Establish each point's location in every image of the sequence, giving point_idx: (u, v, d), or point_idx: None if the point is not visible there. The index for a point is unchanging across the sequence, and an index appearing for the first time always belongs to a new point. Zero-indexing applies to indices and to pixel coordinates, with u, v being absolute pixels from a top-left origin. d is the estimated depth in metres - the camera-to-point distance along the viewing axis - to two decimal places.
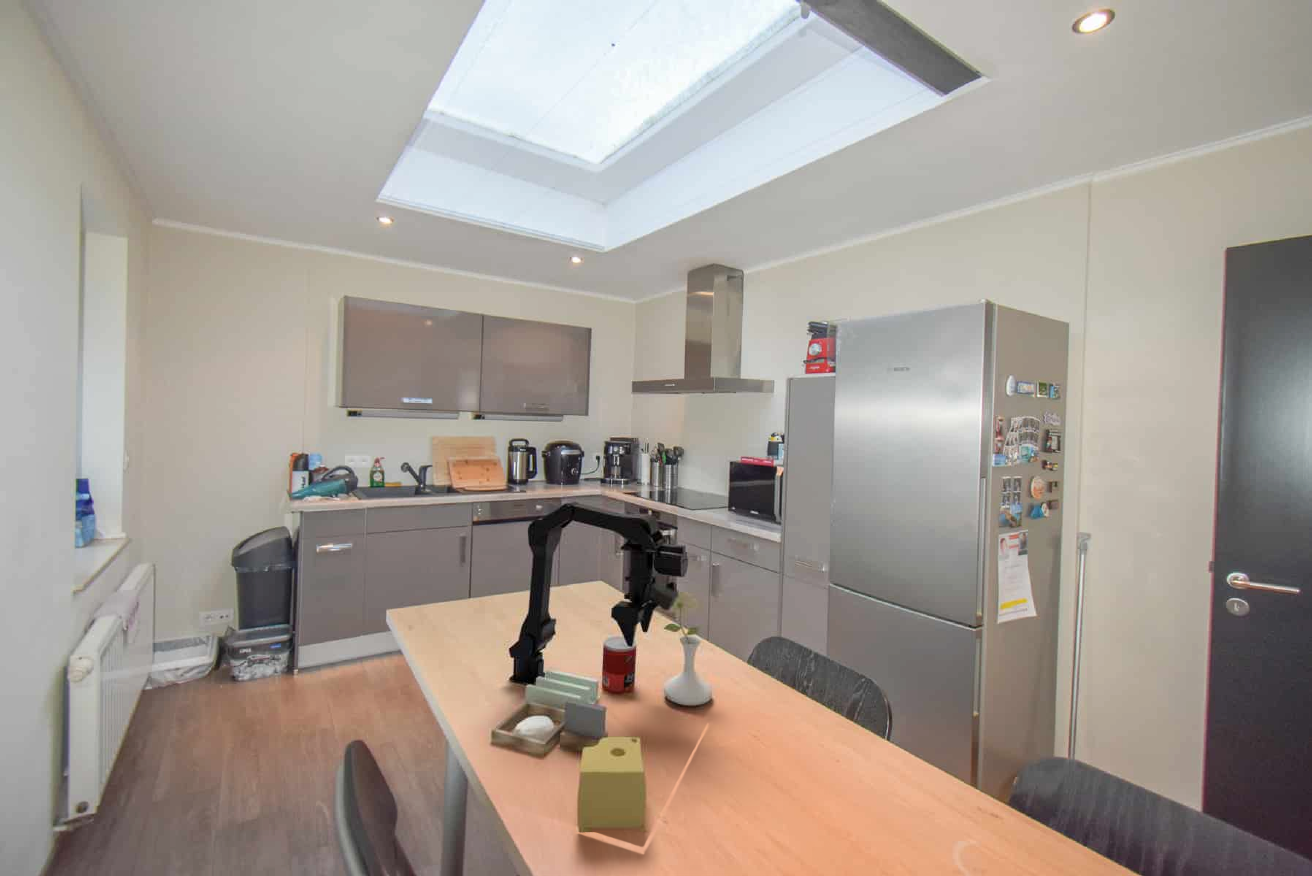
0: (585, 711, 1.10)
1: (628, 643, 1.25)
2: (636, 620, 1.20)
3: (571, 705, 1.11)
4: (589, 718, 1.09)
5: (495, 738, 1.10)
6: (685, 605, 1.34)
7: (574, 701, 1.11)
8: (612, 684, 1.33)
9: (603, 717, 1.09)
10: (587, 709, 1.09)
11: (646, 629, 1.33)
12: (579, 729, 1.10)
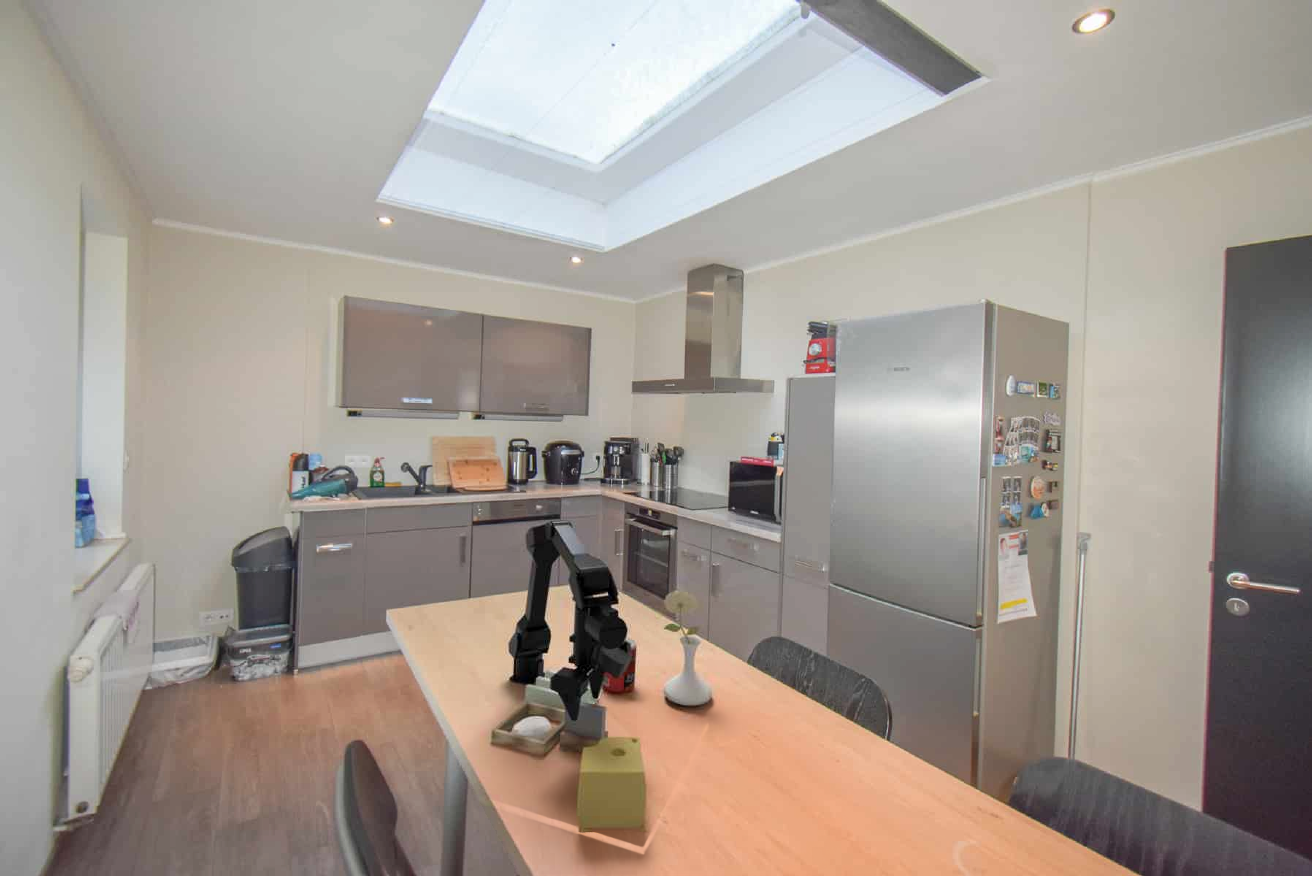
0: (585, 711, 1.10)
1: (571, 717, 1.06)
2: (578, 693, 1.01)
3: None
4: (589, 718, 1.09)
5: (495, 738, 1.10)
6: (685, 605, 1.34)
7: None
8: (612, 684, 1.33)
9: (603, 717, 1.09)
10: (587, 709, 1.09)
11: (597, 695, 1.15)
12: (579, 729, 1.10)
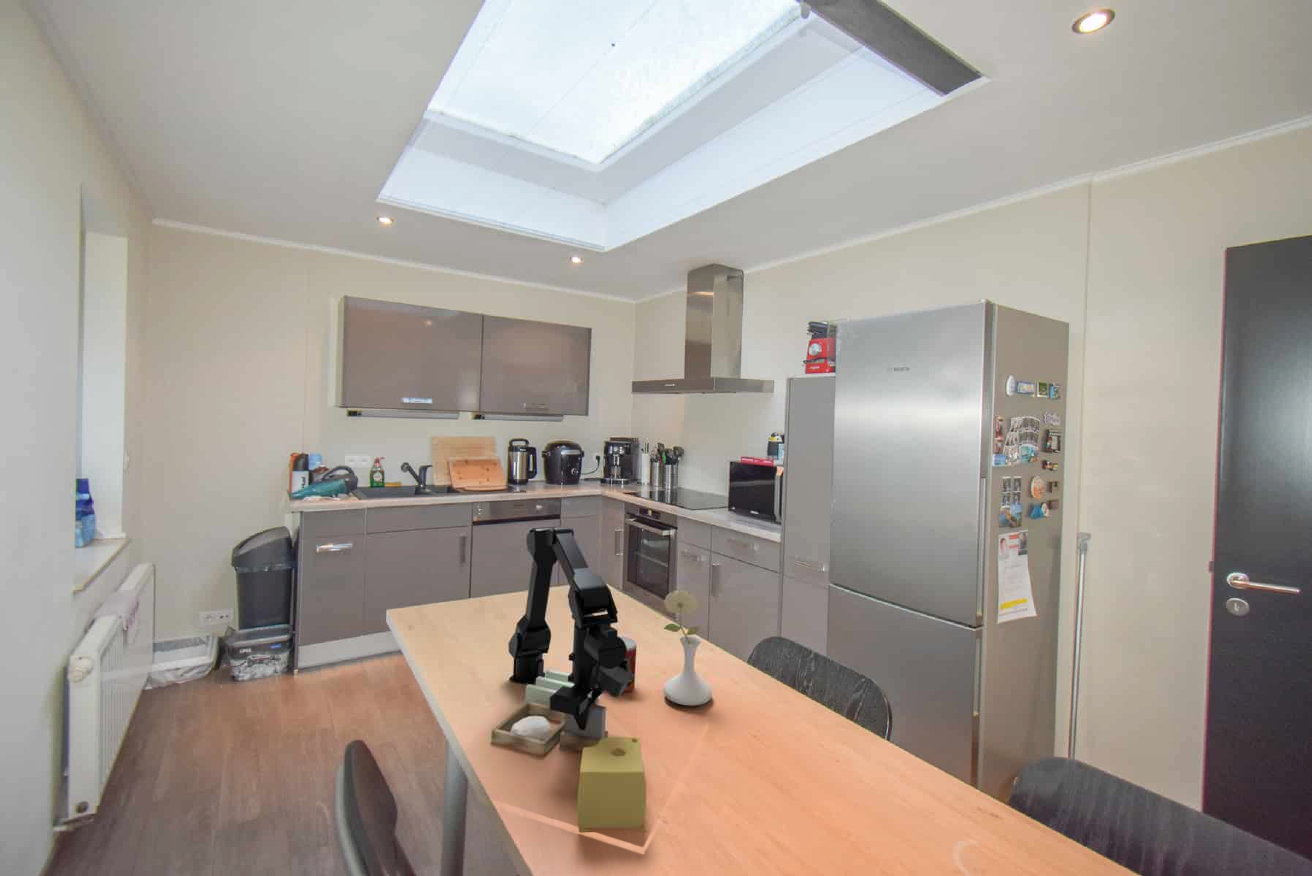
0: None
1: (580, 726, 1.09)
2: (577, 713, 1.01)
3: None
4: (589, 718, 1.09)
5: (495, 738, 1.10)
6: (685, 605, 1.34)
7: None
8: None
9: (603, 717, 1.09)
10: None
11: None
12: (579, 729, 1.10)
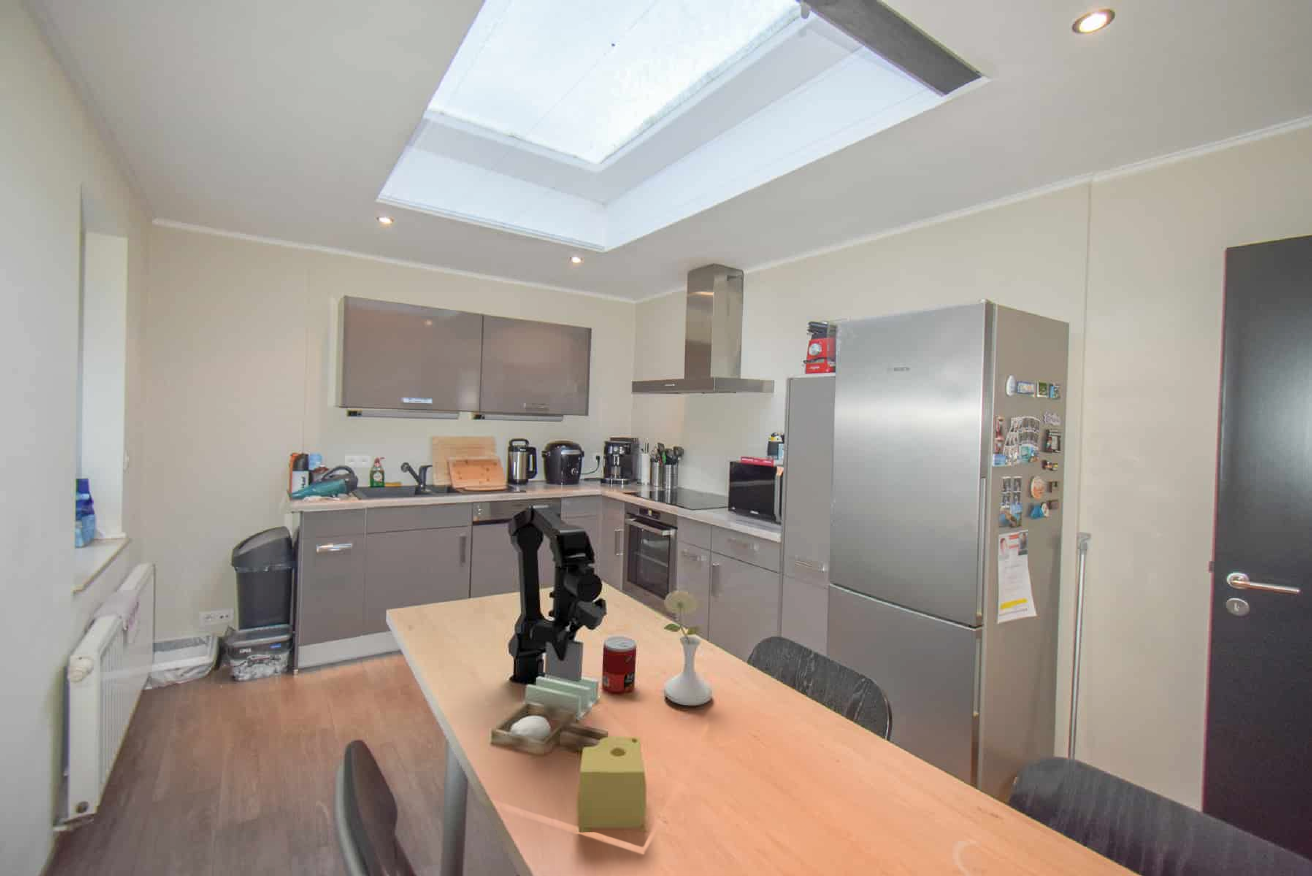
0: None
1: (559, 657, 1.21)
2: (555, 641, 1.12)
3: None
4: (568, 652, 1.21)
5: (495, 738, 1.10)
6: (685, 605, 1.34)
7: None
8: (612, 684, 1.33)
9: (580, 651, 1.20)
10: None
11: None
12: (559, 662, 1.22)
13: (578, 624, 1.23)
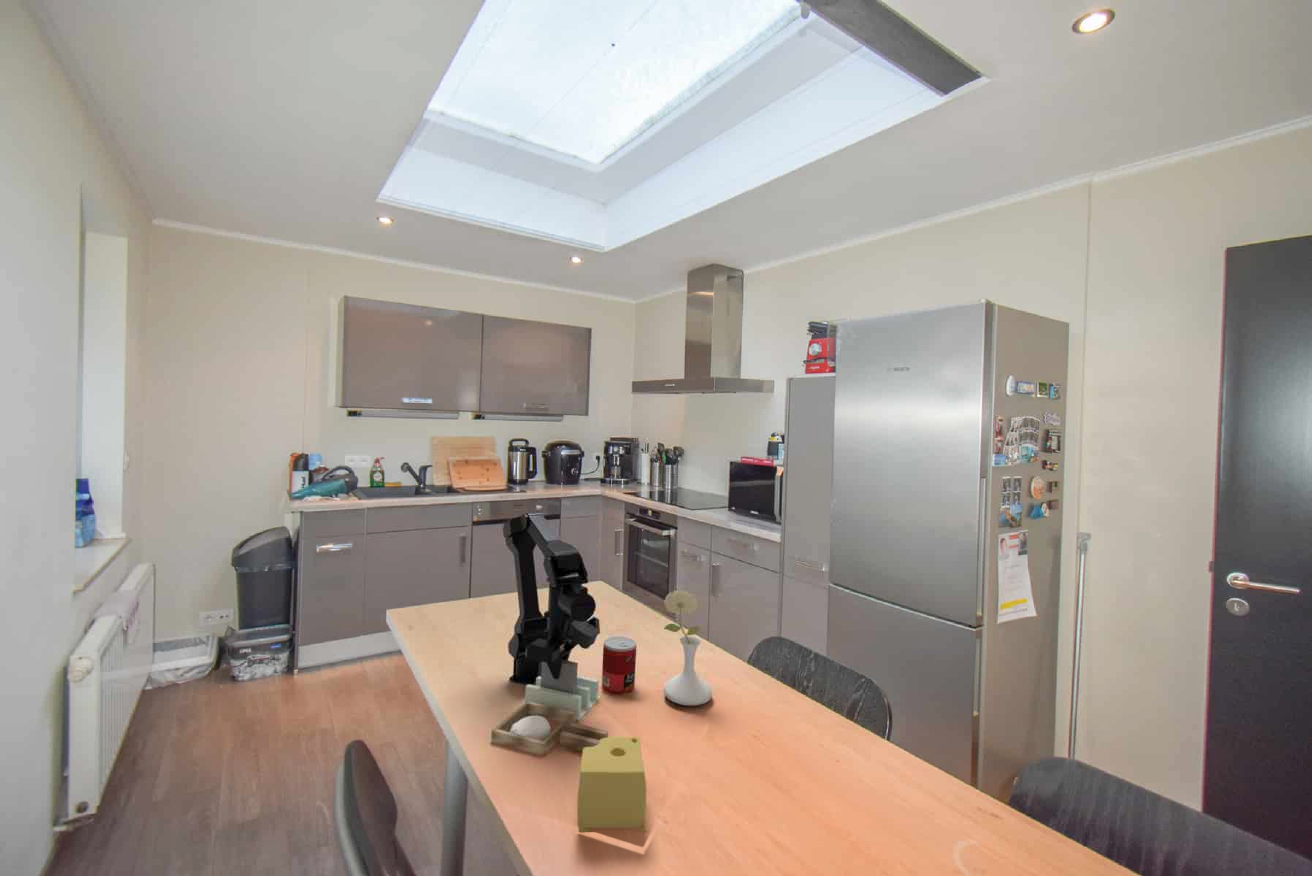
0: None
1: (554, 675, 1.24)
2: (550, 661, 1.15)
3: None
4: (562, 672, 1.24)
5: (495, 738, 1.10)
6: (685, 605, 1.34)
7: None
8: (612, 684, 1.33)
9: (575, 671, 1.23)
10: (561, 664, 1.24)
11: None
12: (554, 682, 1.24)
13: (572, 643, 1.26)
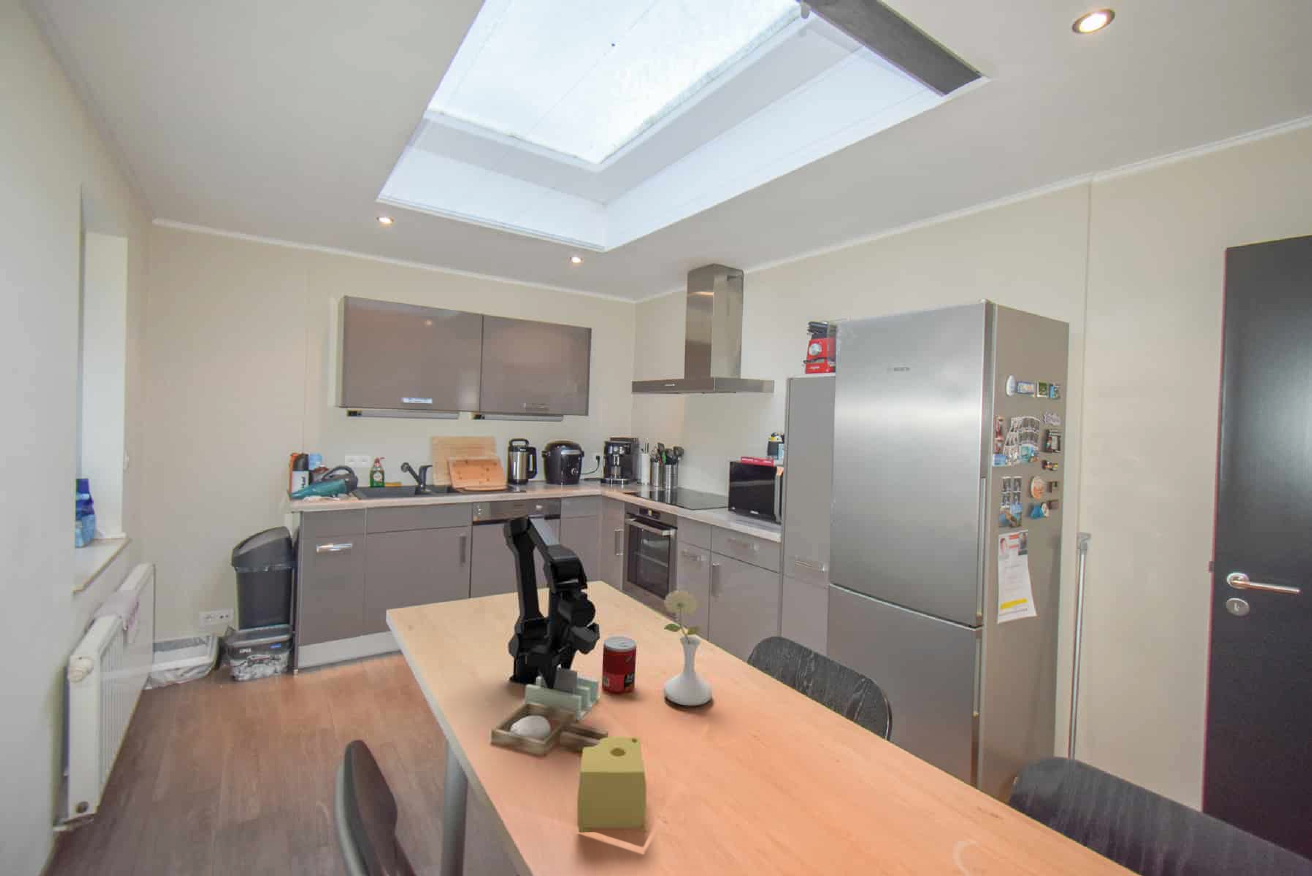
0: (559, 675, 1.24)
1: (548, 686, 1.22)
2: (550, 667, 1.15)
3: None
4: (562, 681, 1.24)
5: (495, 738, 1.10)
6: (685, 605, 1.34)
7: None
8: (612, 684, 1.33)
9: (574, 680, 1.23)
10: (561, 673, 1.24)
11: None
12: None
13: None
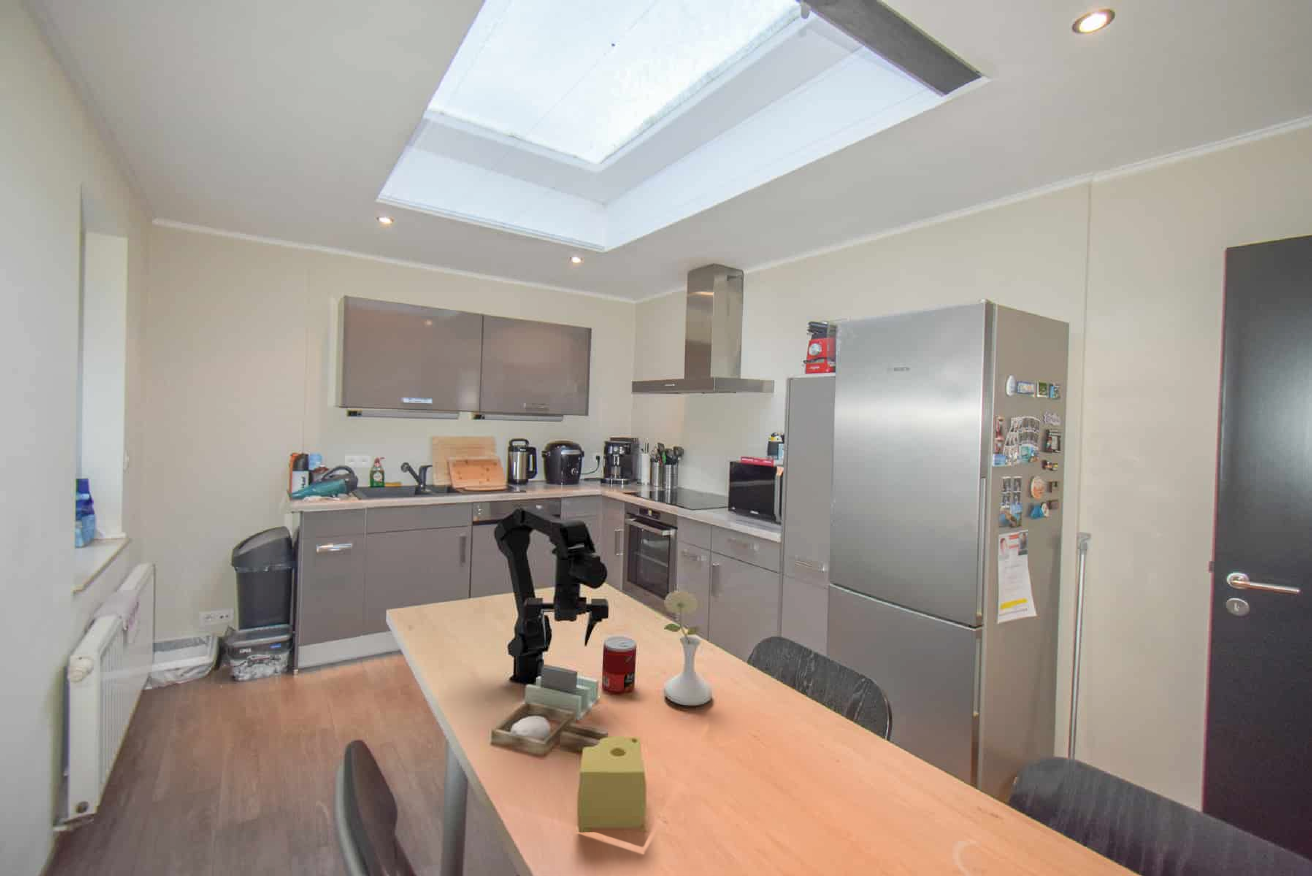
0: (559, 675, 1.24)
1: None
2: (524, 616, 1.24)
3: (546, 669, 1.25)
4: (562, 681, 1.24)
5: (495, 738, 1.10)
6: (685, 605, 1.34)
7: (549, 666, 1.26)
8: (612, 684, 1.33)
9: (574, 680, 1.23)
10: (561, 673, 1.24)
11: None
12: None
13: (593, 618, 1.27)
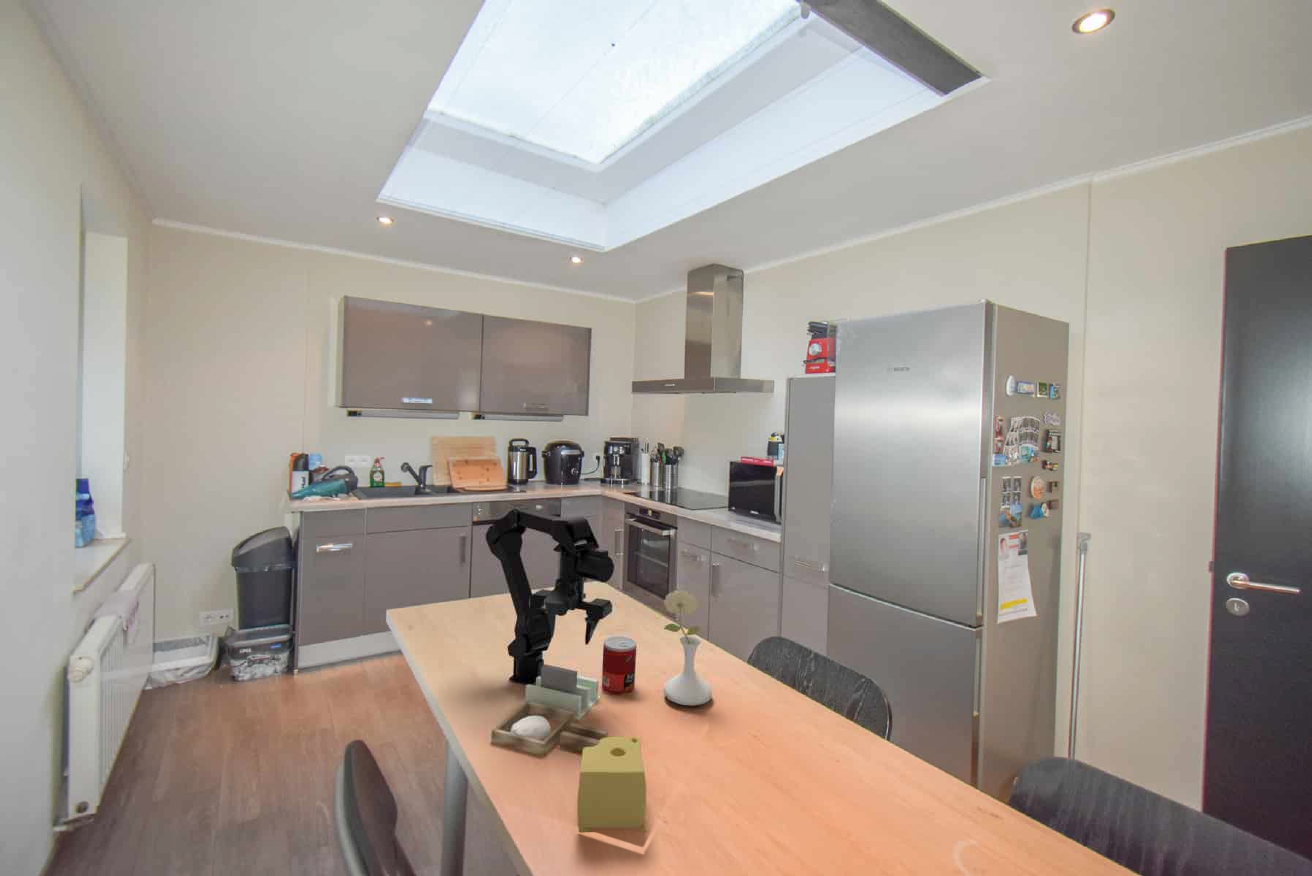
0: (559, 675, 1.24)
1: None
2: (529, 605, 1.31)
3: (546, 669, 1.25)
4: (562, 681, 1.24)
5: (495, 738, 1.10)
6: (685, 605, 1.34)
7: (549, 666, 1.26)
8: (612, 684, 1.33)
9: (574, 680, 1.23)
10: (561, 673, 1.24)
11: None
12: None
13: None
